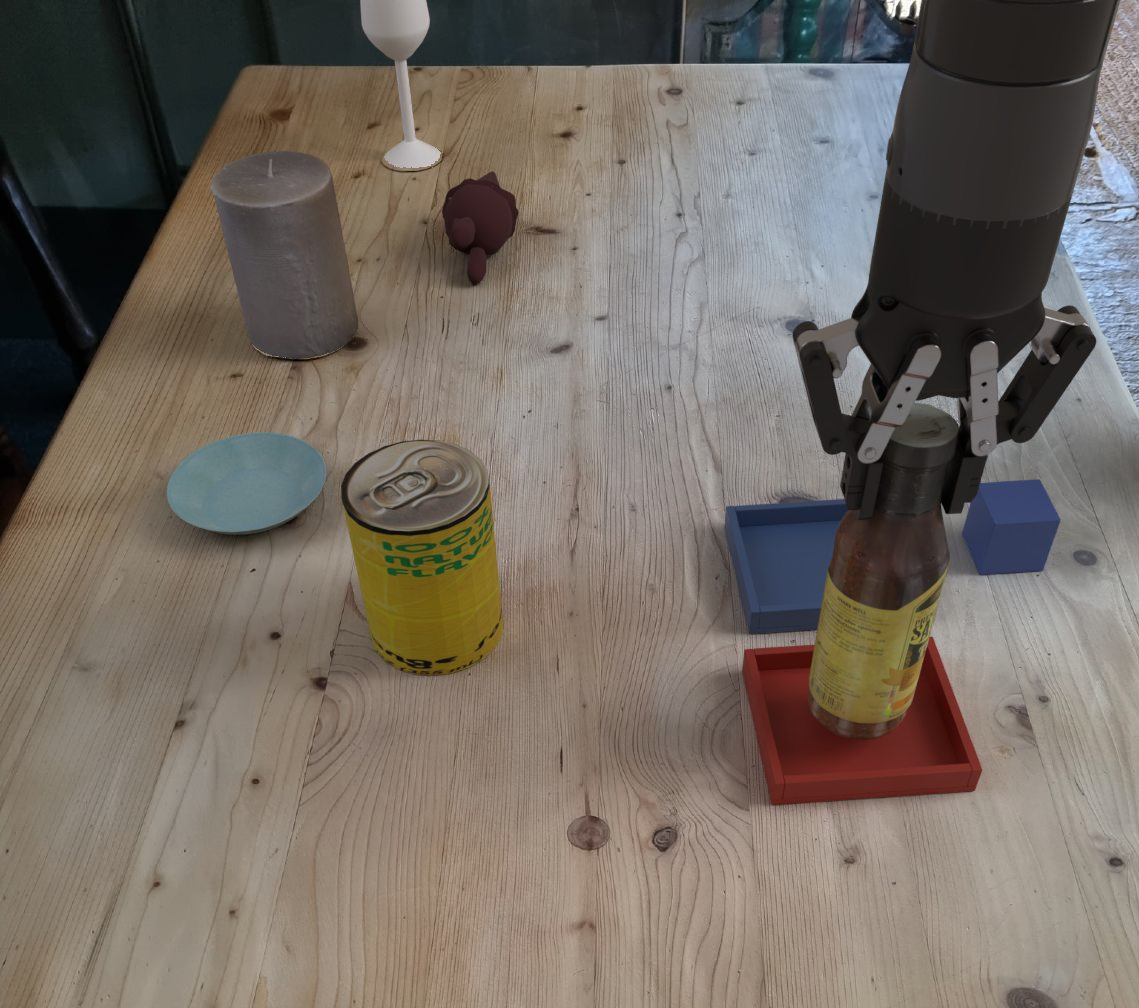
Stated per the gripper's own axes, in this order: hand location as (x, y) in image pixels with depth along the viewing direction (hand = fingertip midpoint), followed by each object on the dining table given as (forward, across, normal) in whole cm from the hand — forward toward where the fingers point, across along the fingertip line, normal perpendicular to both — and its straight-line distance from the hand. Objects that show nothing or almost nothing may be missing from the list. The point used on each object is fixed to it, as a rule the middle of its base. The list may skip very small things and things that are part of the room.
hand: (905, 505), depth 63 cm
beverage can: (+17, -26, +11) cm, 33 cm away
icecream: (+17, -22, +63) cm, 69 cm away
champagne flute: (+17, -29, +84) cm, 91 cm away
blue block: (+17, +14, +15) cm, 27 cm away
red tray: (+17, 0, 0) cm, 17 cm away
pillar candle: (+17, -38, +50) cm, 66 cm away
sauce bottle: (+15, 0, 0) cm, 15 cm away
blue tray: (+17, +1, +14) cm, 22 cm away
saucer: (+17, -40, +26) cm, 51 cm away
